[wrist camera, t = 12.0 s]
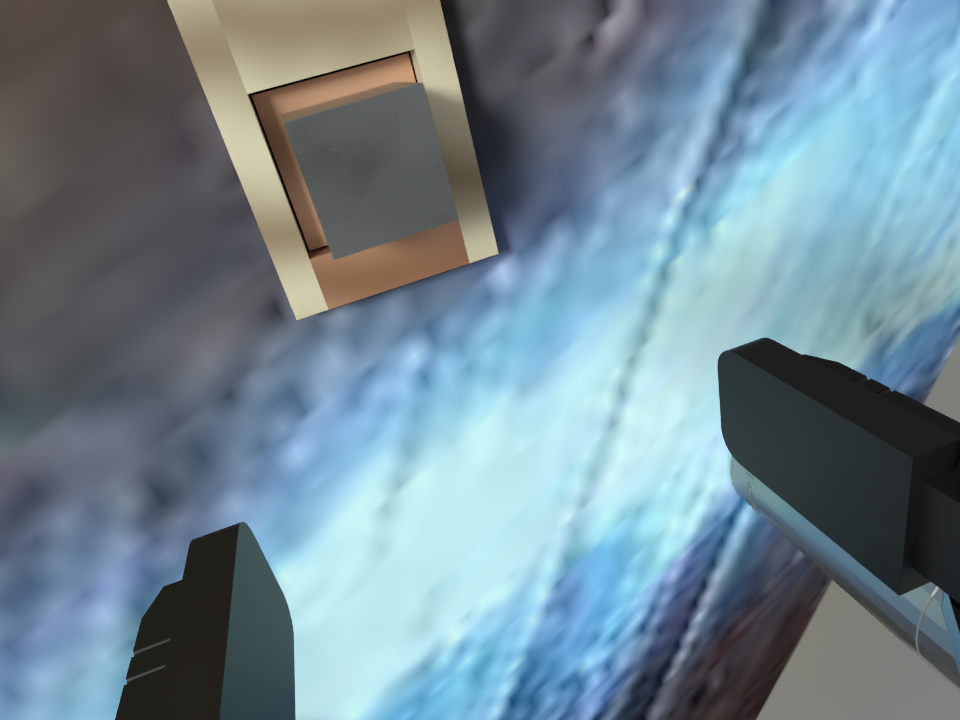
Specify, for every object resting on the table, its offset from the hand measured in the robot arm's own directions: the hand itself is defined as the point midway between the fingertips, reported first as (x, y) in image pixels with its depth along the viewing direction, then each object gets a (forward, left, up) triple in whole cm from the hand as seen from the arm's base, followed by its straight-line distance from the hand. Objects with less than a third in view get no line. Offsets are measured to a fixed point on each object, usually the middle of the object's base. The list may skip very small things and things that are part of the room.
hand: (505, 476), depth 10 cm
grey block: (-1, -3, -22) cm, 22 cm away
